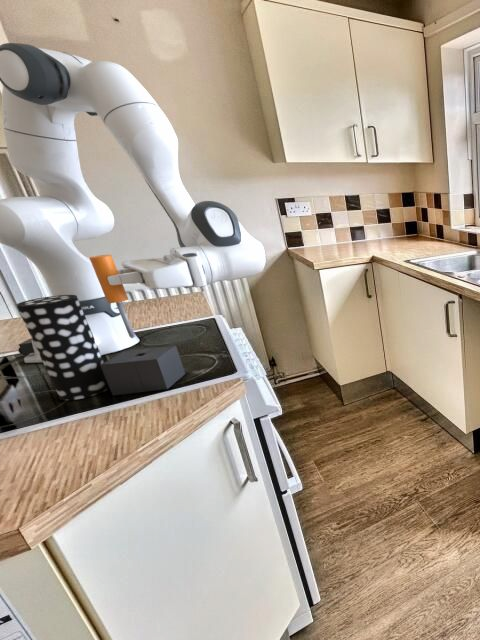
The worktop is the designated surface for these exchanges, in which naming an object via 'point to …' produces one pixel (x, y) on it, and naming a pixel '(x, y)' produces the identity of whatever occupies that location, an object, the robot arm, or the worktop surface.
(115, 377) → the holder
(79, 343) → the spotted tube
